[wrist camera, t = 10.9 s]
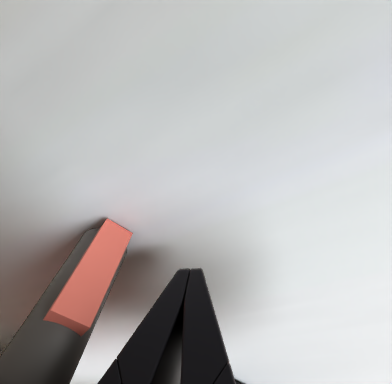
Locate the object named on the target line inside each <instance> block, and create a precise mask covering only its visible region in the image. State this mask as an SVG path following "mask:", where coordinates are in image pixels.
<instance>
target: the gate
mask: <svg viewBox="0 0 392 384" xmlns="http://www.w3.org/2000/svg"><path fill="white" fill-rule="evenodd" d="M132 234H133V233H131V232H130V231H128V230H126V229H124V228H123V227H121V226H119V225H118V224H116V223H114V222H112V221H111V220H109V219H106V221H105V222H104V223H103V225H102V226H101V228H95V229H91V230H88V231H87V232H85V234H84V235H83V236H82V238H81V239H80V241H79V242H78V244H77V245H76V247H75V248H74V250H73V251H72V253H71V254H70V255H69V257H68V258H67V260H66V261H65V263H64V264H63V266H62V267H61V269H60V270H59V272H58V273H57V275H56V276H55V277H54V279H53V280H52V282H51V283H50V285H49V286H48V288H47V289H46V291H45V292H44V294H43V295H42V297H41V298H40V299H39V301H38V302H37V304H36V305H35V307H34V308H33V310H32V311H31V313H30V314H29V316H28V317H27V319H26V320H25V321H24V323H23V324H22V326H21V327H20V329H19V330H18V332H17V333H16V335H15V336H14V338H13V339H12V341H11V342H10V344H9V345H8V346H7V348H6V349H5V351H4V352H3V354H2V355H1V357H0V384H70V381H71V379H72V377H73V374H74V372H75V370H76V368H77V365H78V363H79V361H80V358H81V356H82V354H83V352H84V349H85V347H86V345H87V342H88V340H89V338H90V336H91V333H92V331H93V329H94V326H95V324H96V322H97V320H98V317H99V315H100V313H101V310H102V308H103V306H104V303H105V301H106V299H107V297H108V294H109V292H110V290H111V287H112V285H113V283H114V281H115V278H116V276H117V274H118V271H119V269H120V267H121V265H122V262H123V260H124V258H125V255H126V253H127V245H128V243H129V240H130V238H131V236H132Z"/></svg>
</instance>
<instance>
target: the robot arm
mask: <svg viewBox="0 0 392 384" xmlns="http://www.w3.org/2000/svg"><path fill="white" fill-rule="evenodd" d="M98 384H241V383H238V382H236V381H235V379H234V376H233V372H232V369H231V366H230V364H229V359H228V356H227V352H226V349H225V345H224V342H223V339H222V335H221V332H220V328H219V325H218V321H217V318H216V315H215V311H214V308H213V304H212V301H211V297H210V294H209V291H208V287H207V284H206V280H205V277H204V273H203V270H202V269H201V268H193V269H191V270H190V269H179V270H178V271H177V272H176V274H175V275H174V277H173V278H172V280H171V281H170V282H169V284H168V285H167V287H166V288H165V290H164V291H163V292H162V294H161V295H160V297H159V298H158V299H157V301H156V302H155V304H154V305H153V307H152V308H151V309H150V311H149V312H148V314H147V315H146V316H145V318H144V319H143V321H142V322H141V324H140V325H139V326H138V328H137V329H136V331H135V332H134V333H133V335H132V336H131V338H130V339H129V341H128V342H127V343H126V345H125V346H124V348H123V349H122V351H121V352H120V353H119V355H118V356H117V359H115V360H114V362H113V363H112V365H111V366H110V367H109V369H108V370H107V372H106V373H105V374H104V376H103V377H102V378H101V380H100V381H99V382H98Z"/></svg>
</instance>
